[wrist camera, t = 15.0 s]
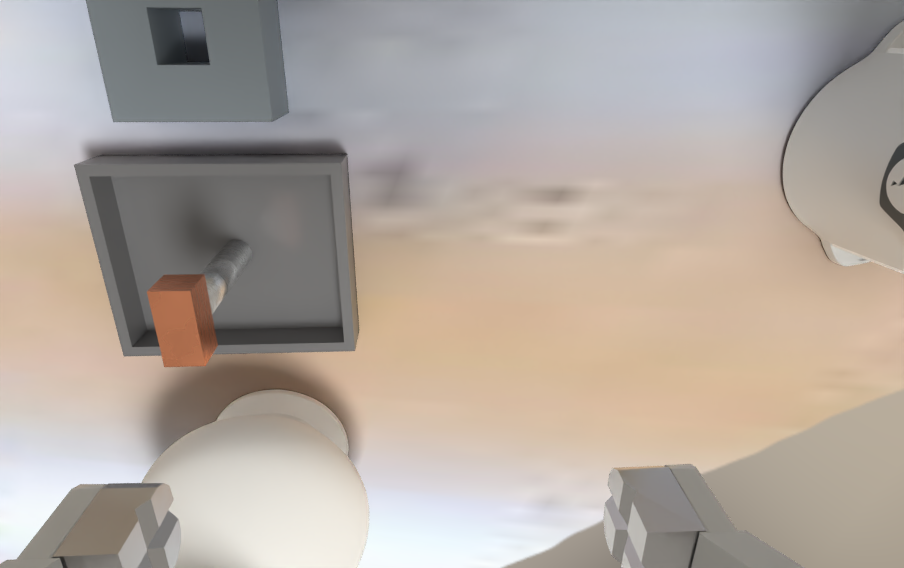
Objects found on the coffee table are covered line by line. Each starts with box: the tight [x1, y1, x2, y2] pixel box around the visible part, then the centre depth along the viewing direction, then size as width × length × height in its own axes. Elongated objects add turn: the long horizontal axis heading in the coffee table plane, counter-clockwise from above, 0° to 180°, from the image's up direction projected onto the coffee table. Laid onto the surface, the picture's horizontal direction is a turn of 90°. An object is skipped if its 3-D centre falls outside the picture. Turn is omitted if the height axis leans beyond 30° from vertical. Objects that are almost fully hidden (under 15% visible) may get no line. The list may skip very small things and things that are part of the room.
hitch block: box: [86, 0, 289, 122], centre depth 37 cm, size 10×10×5 cm
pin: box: [147, 240, 252, 367], centre depth 39 cm, size 2×5×12 cm, turn 179°
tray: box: [74, 154, 359, 356], centre depth 43 cm, size 18×15×4 cm
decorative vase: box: [142, 389, 369, 568], centre depth 41 cm, size 18×18×25 cm
